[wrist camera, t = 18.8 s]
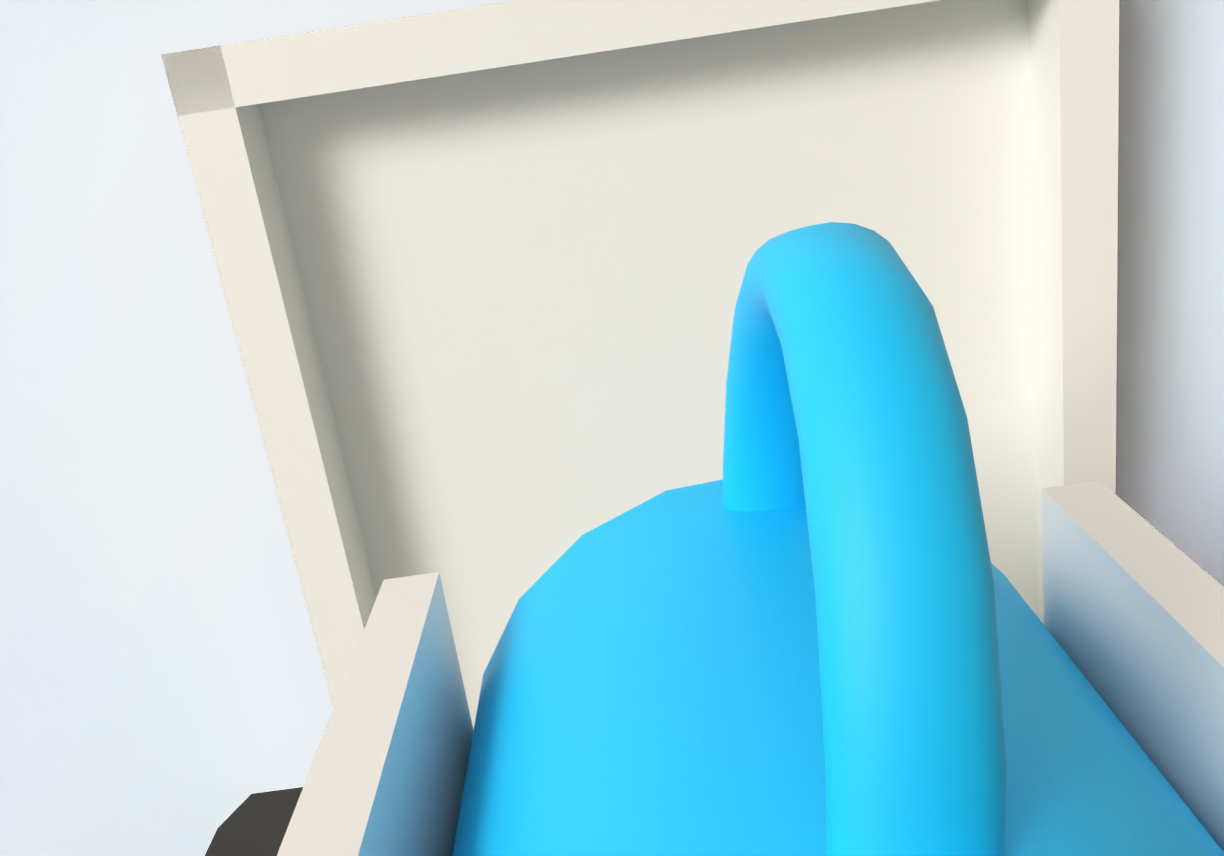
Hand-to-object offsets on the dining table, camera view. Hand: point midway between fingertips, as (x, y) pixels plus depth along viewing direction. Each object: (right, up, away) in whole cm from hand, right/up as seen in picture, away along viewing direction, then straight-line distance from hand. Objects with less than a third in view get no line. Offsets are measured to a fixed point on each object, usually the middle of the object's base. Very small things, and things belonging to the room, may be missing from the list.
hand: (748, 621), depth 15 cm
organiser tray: (+1, -3, +10) cm, 10 cm away
